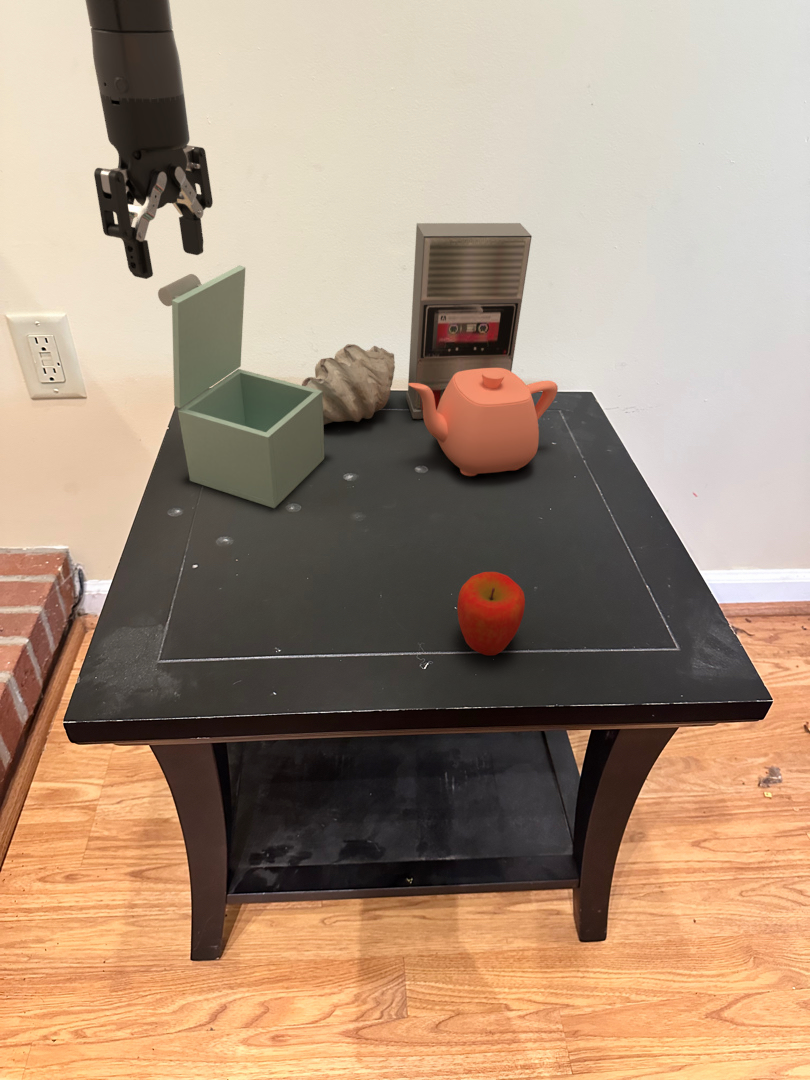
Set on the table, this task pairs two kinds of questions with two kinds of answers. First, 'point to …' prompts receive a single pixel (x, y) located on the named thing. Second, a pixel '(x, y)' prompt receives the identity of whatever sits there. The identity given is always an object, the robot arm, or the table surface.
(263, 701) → the table surface
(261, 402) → the pale green hollow box
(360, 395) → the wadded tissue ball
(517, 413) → the teapot
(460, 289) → the cassette tape recorder
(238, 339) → the lid
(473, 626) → the apple
